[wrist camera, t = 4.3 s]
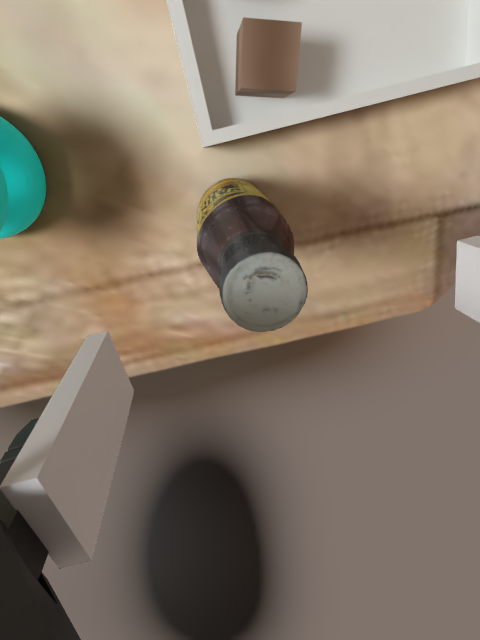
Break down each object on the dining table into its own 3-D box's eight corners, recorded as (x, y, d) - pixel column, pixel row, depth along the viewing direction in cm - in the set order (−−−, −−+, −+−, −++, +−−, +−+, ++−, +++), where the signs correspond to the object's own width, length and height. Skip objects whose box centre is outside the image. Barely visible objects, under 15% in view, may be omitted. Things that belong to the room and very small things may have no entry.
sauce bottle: (220, 162, 32) (256, 178, 14) (276, 202, 34) (368, 260, 16) (182, 225, 34) (172, 309, 16) (237, 260, 36) (282, 368, 18)
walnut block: (235, 95, 30) (240, 87, 26) (236, 34, 28) (243, 17, 24) (283, 98, 30) (295, 91, 26) (288, 38, 28) (301, 22, 25)
